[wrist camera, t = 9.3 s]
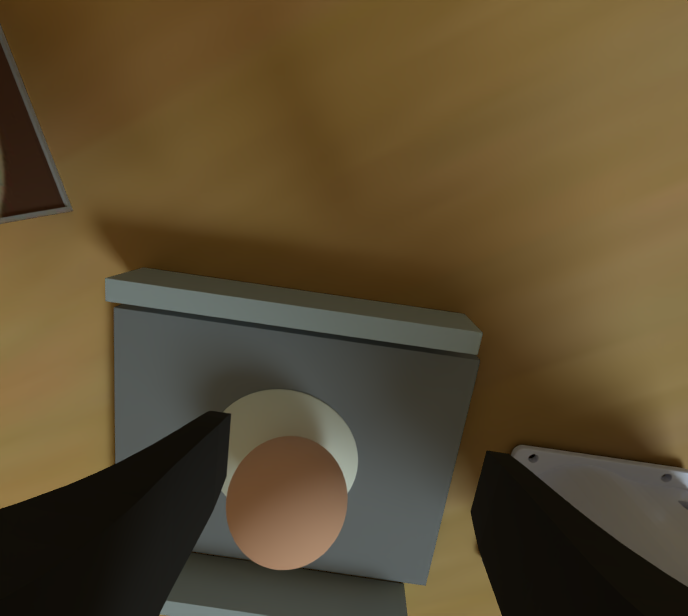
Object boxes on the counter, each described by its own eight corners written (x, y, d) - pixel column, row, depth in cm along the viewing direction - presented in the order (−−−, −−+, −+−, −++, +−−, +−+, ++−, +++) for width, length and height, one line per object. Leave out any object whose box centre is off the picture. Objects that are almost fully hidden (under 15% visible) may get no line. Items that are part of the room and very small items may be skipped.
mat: (475, 354, 20) (480, 361, 19) (423, 573, 23) (425, 587, 23) (123, 303, 20) (112, 308, 19) (124, 529, 24) (115, 541, 23)
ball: (346, 422, 21) (381, 497, 16) (314, 508, 22) (337, 603, 17) (243, 405, 19) (245, 483, 14) (215, 499, 20) (207, 602, 15)
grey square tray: (464, 313, 19) (482, 332, 17) (400, 596, 24) (406, 650, 21) (143, 267, 19) (104, 278, 17) (140, 558, 24) (110, 606, 21)
